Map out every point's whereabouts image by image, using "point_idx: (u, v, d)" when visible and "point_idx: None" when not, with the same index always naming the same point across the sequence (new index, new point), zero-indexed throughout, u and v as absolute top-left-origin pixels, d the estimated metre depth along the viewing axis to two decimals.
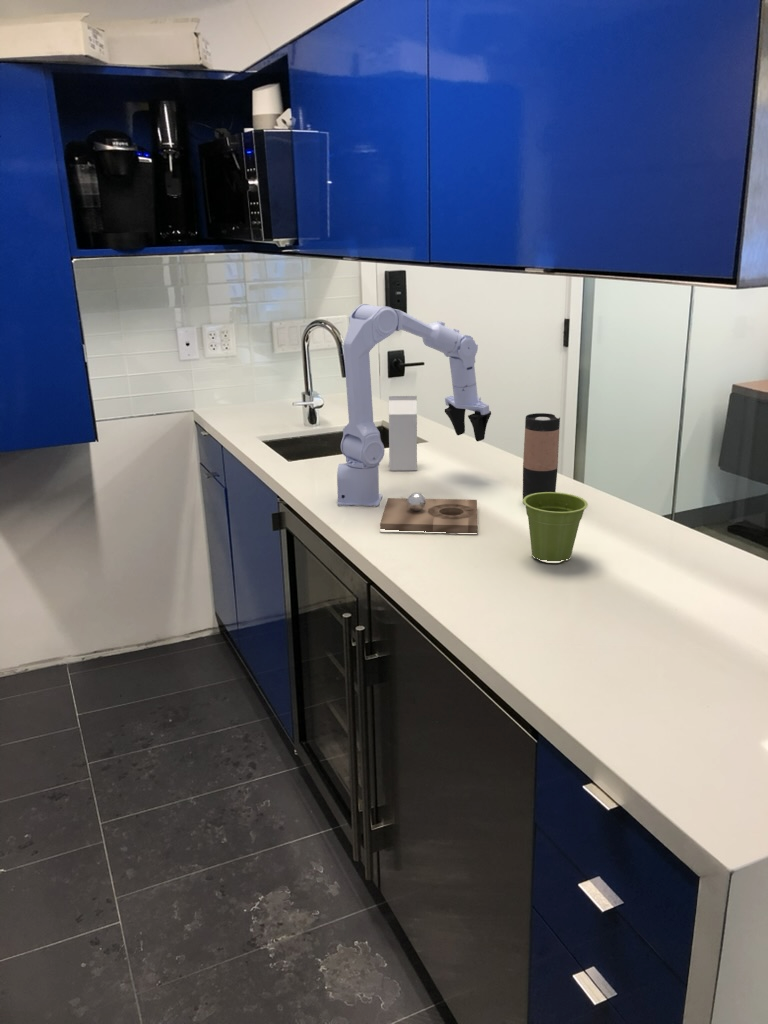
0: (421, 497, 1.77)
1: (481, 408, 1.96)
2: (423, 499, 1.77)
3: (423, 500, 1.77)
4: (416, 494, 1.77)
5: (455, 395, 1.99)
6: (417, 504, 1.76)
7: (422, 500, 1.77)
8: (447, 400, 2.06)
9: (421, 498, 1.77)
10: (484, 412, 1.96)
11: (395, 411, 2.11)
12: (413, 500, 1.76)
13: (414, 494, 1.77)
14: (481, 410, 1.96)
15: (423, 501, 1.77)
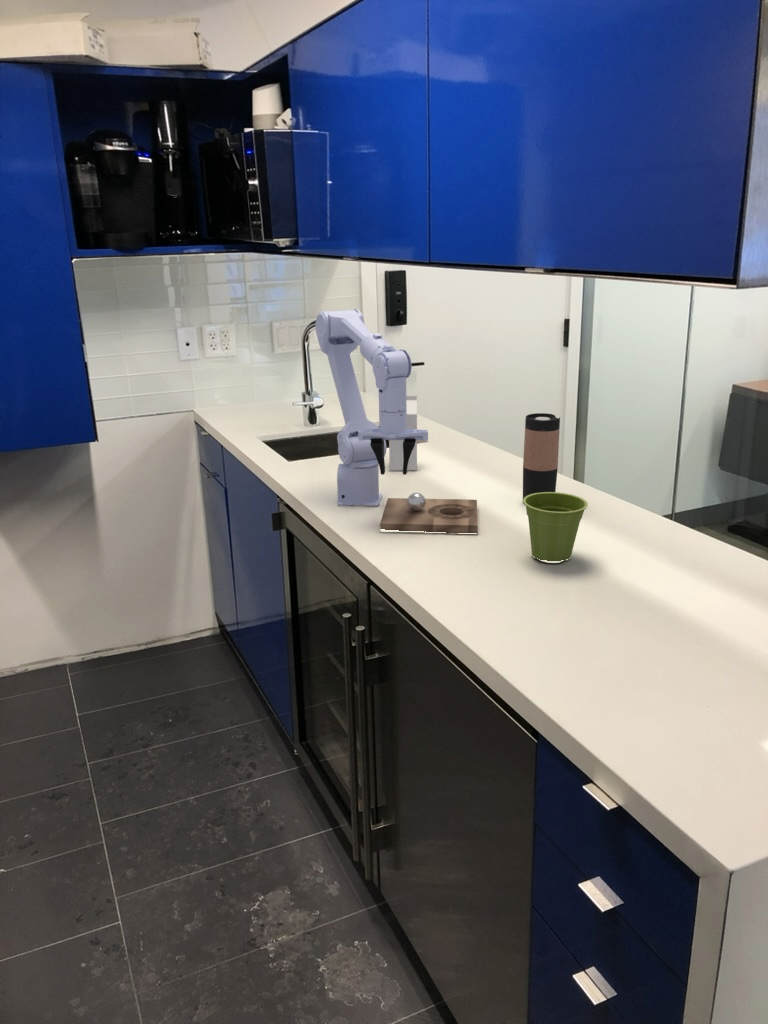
0: (421, 497, 1.77)
1: None
2: (423, 499, 1.77)
3: (423, 500, 1.77)
4: (416, 494, 1.77)
5: None
6: (417, 504, 1.76)
7: (422, 500, 1.77)
8: None
9: (421, 498, 1.77)
10: None
11: None
12: (413, 500, 1.76)
13: (414, 494, 1.77)
14: None
15: (423, 501, 1.77)
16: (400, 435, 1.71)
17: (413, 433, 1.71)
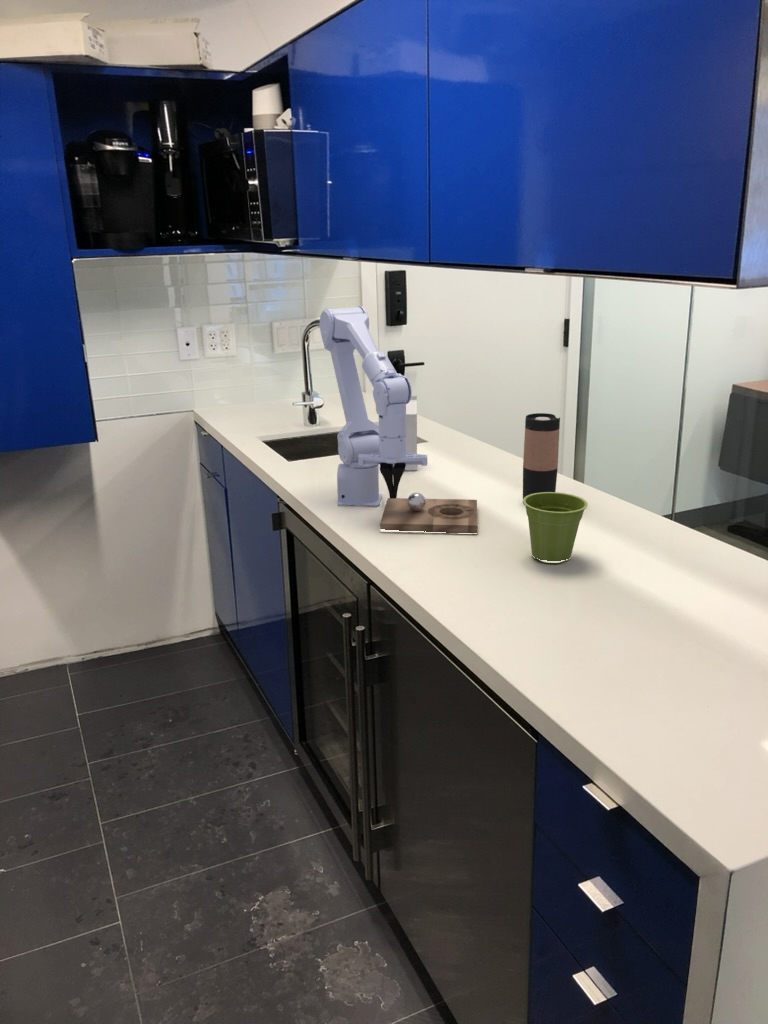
0: (421, 497, 1.77)
1: None
2: (423, 499, 1.77)
3: (423, 500, 1.77)
4: (416, 494, 1.77)
5: None
6: (417, 504, 1.76)
7: (422, 500, 1.77)
8: None
9: (421, 498, 1.77)
10: None
11: None
12: (413, 500, 1.76)
13: (414, 494, 1.77)
14: None
15: (423, 501, 1.77)
16: (400, 460, 1.73)
17: (412, 458, 1.73)
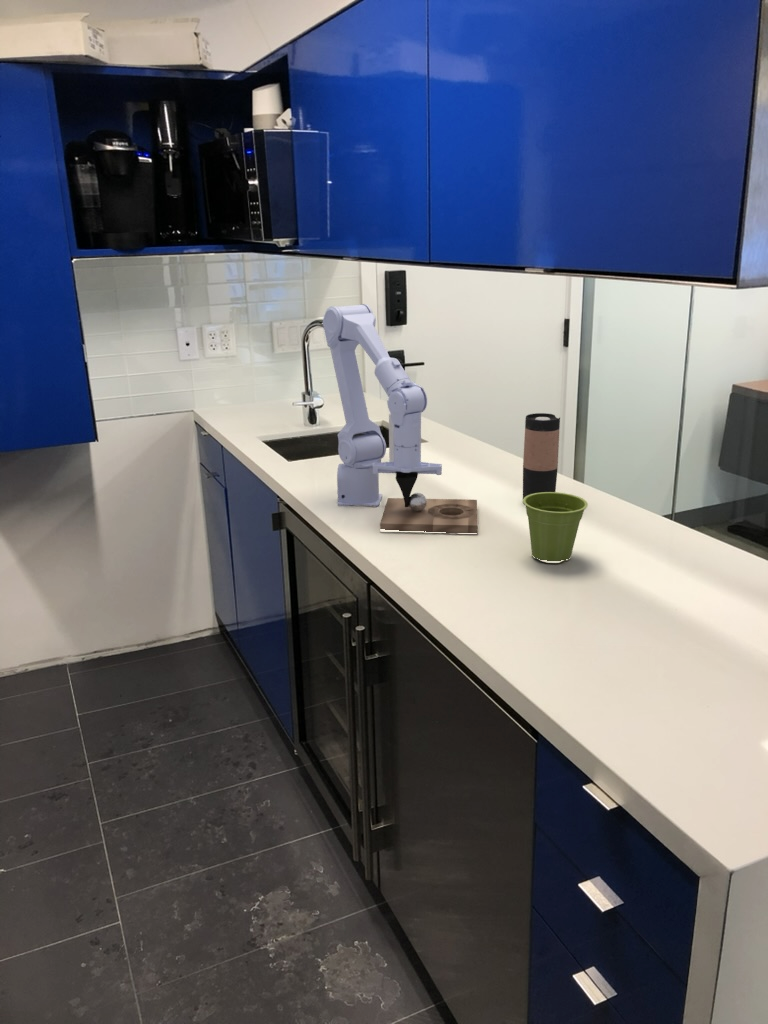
0: (423, 498, 1.77)
1: None
2: (425, 500, 1.77)
3: (424, 501, 1.77)
4: (418, 494, 1.77)
5: None
6: (418, 505, 1.76)
7: (424, 501, 1.77)
8: None
9: (423, 499, 1.77)
10: None
11: None
12: (415, 500, 1.76)
13: (416, 494, 1.77)
14: None
15: (424, 502, 1.77)
16: (414, 469, 1.73)
17: (427, 467, 1.74)
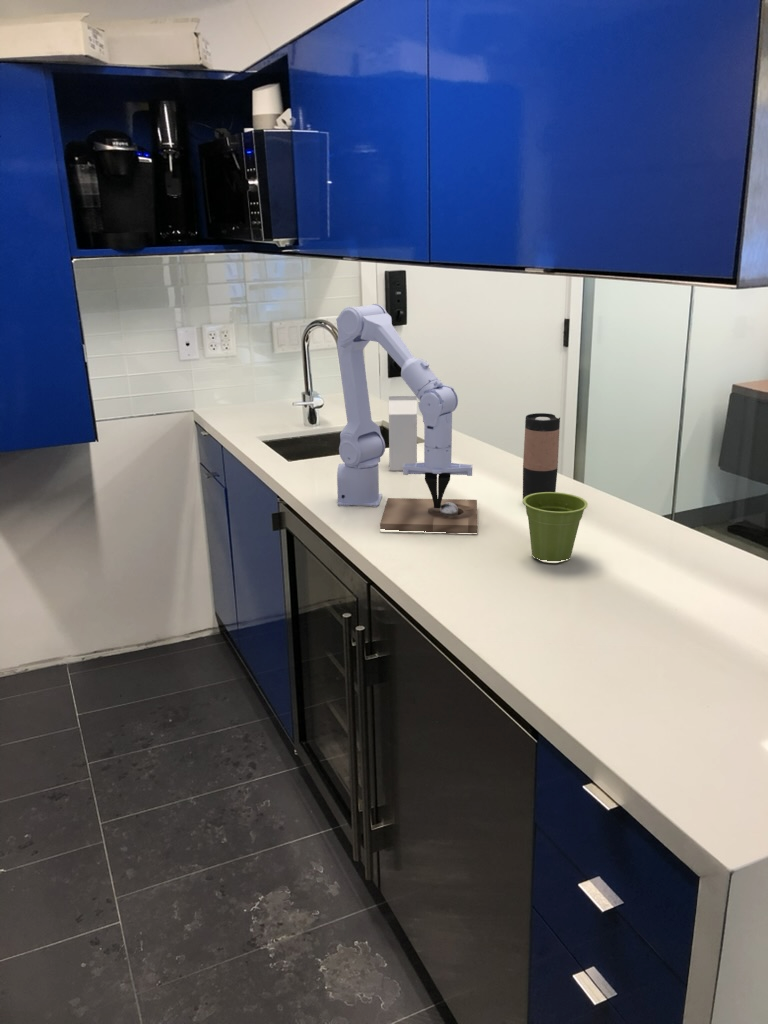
0: None
1: None
2: None
3: None
4: None
5: None
6: (441, 513, 1.77)
7: None
8: None
9: None
10: None
11: (395, 411, 2.11)
12: None
13: None
14: None
15: None
16: (445, 470, 1.72)
17: (458, 468, 1.73)
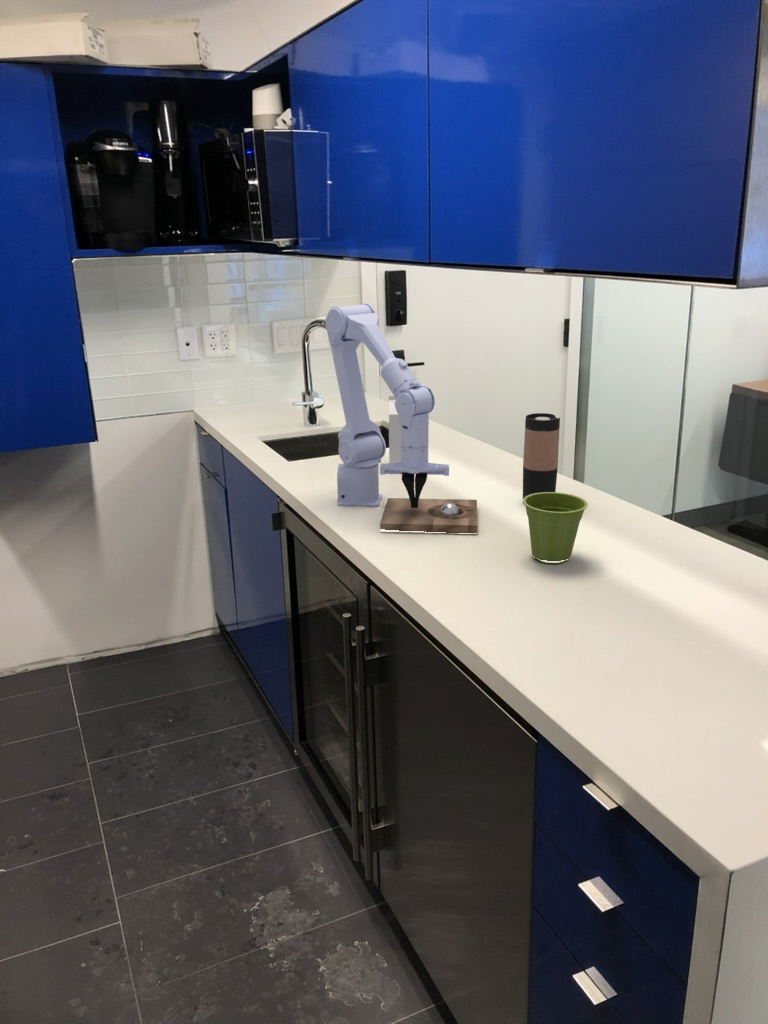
0: None
1: None
2: None
3: None
4: None
5: None
6: None
7: (440, 512, 1.78)
8: None
9: None
10: None
11: (395, 411, 2.11)
12: None
13: None
14: None
15: (440, 510, 1.78)
16: (422, 470, 1.73)
17: (435, 468, 1.74)
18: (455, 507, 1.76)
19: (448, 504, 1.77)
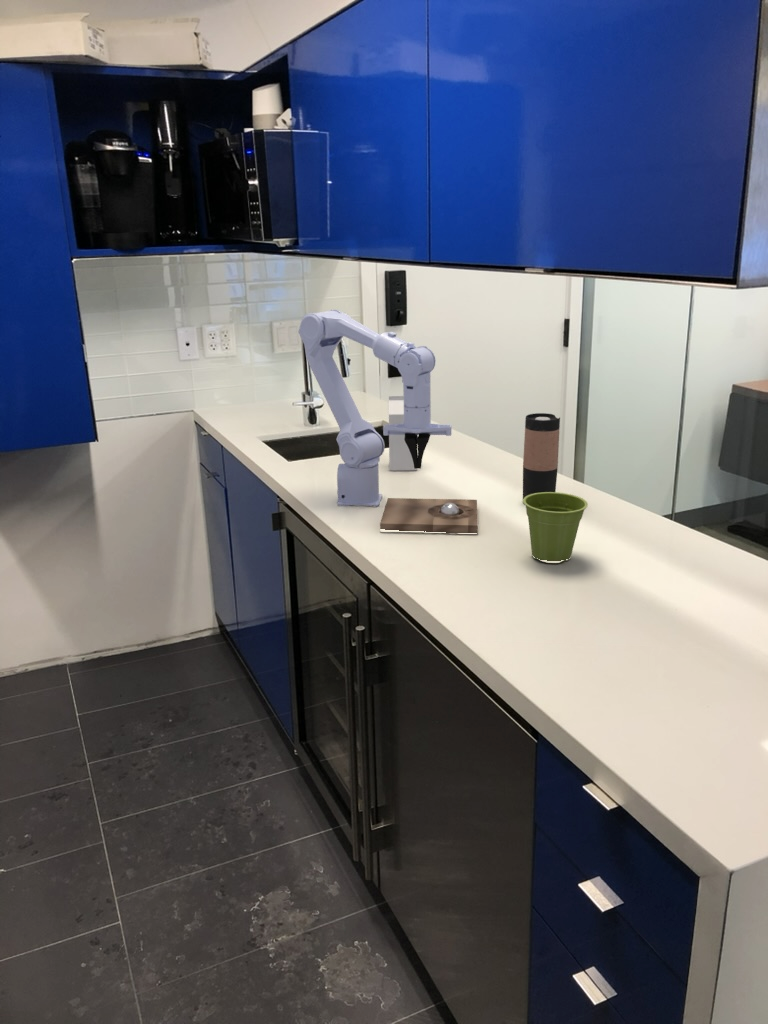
0: None
1: None
2: None
3: None
4: None
5: None
6: None
7: None
8: None
9: None
10: None
11: (395, 411, 2.11)
12: None
13: None
14: None
15: None
16: (424, 430, 1.75)
17: (437, 428, 1.76)
18: (456, 507, 1.76)
19: (449, 504, 1.77)
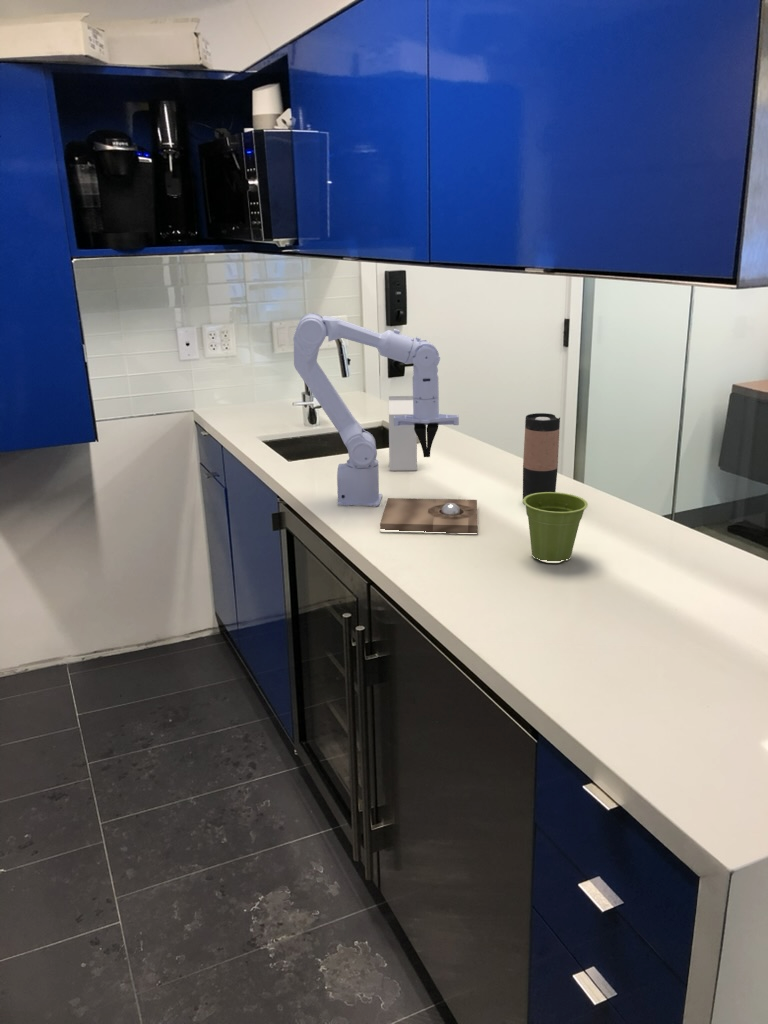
0: None
1: None
2: None
3: None
4: None
5: None
6: (443, 513, 1.76)
7: (441, 511, 1.78)
8: None
9: None
10: None
11: (395, 411, 2.11)
12: None
13: None
14: None
15: None
16: (433, 420, 1.84)
17: (445, 418, 1.84)
18: (457, 508, 1.76)
19: (450, 504, 1.77)
